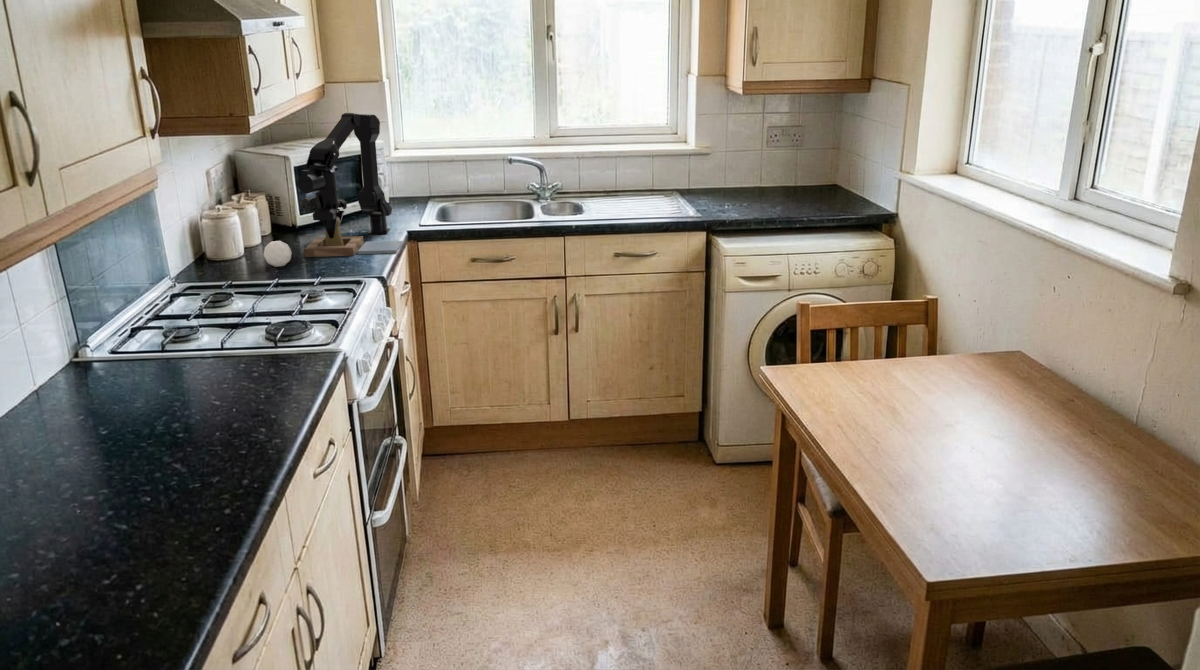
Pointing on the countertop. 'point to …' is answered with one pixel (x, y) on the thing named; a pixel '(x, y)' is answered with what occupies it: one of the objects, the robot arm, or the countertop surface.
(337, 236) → the cork
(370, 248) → the mat
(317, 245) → the pocket frame
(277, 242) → the ball
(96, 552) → the countertop surface
